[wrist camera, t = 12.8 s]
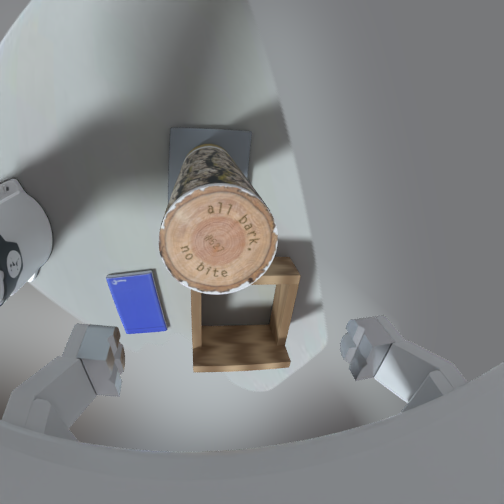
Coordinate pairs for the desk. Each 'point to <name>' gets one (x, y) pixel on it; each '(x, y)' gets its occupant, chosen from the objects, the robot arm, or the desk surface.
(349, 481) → the robot arm
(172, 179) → the slate pad
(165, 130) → the desk surface
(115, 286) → the hard drive
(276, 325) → the frame
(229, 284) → the wooden log
